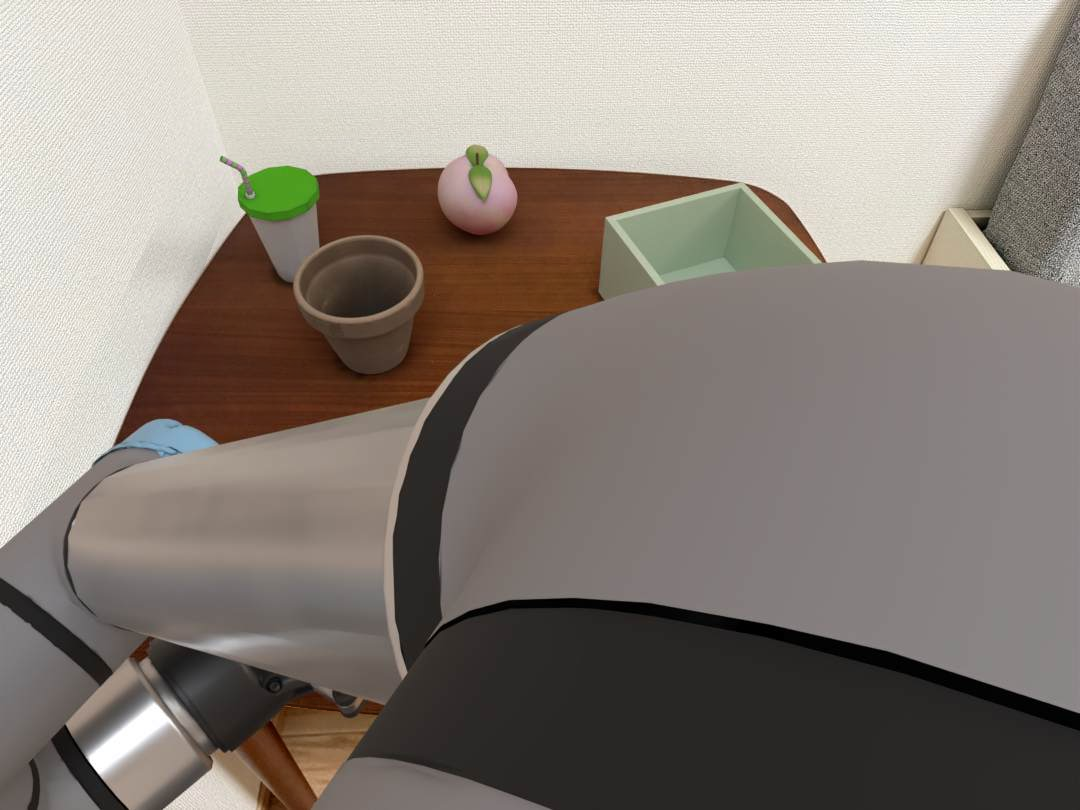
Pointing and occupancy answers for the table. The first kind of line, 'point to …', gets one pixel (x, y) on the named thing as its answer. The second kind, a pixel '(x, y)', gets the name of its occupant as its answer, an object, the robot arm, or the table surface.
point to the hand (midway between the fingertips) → (491, 463)
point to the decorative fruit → (477, 192)
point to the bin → (695, 241)
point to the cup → (282, 213)
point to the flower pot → (362, 299)
